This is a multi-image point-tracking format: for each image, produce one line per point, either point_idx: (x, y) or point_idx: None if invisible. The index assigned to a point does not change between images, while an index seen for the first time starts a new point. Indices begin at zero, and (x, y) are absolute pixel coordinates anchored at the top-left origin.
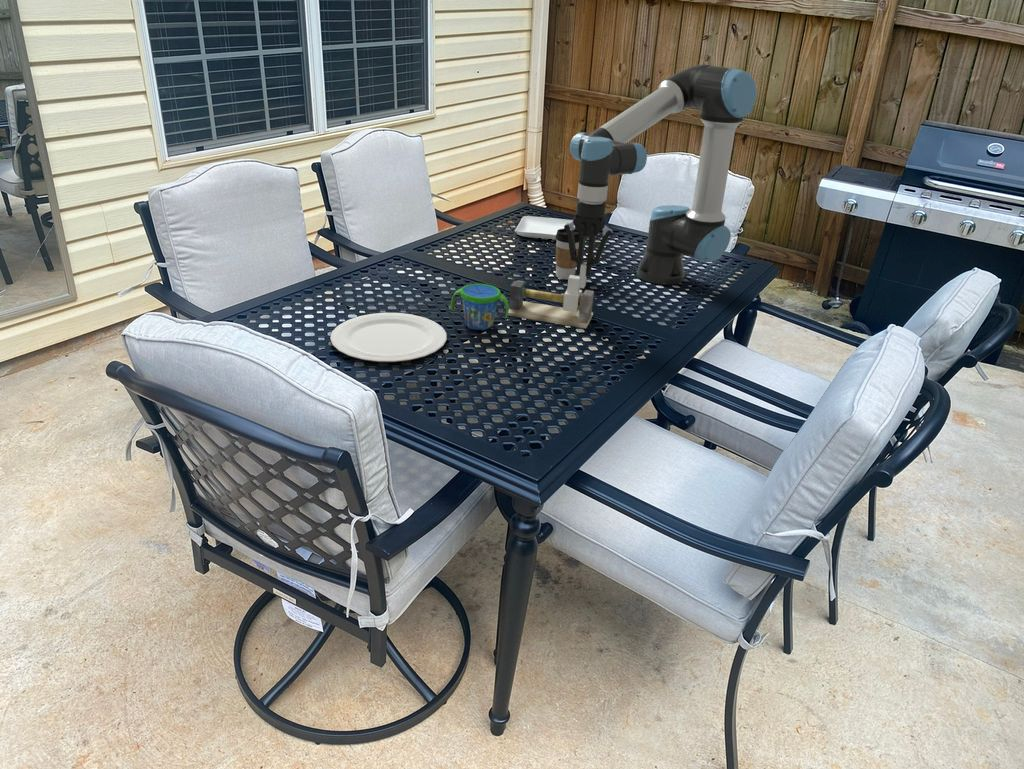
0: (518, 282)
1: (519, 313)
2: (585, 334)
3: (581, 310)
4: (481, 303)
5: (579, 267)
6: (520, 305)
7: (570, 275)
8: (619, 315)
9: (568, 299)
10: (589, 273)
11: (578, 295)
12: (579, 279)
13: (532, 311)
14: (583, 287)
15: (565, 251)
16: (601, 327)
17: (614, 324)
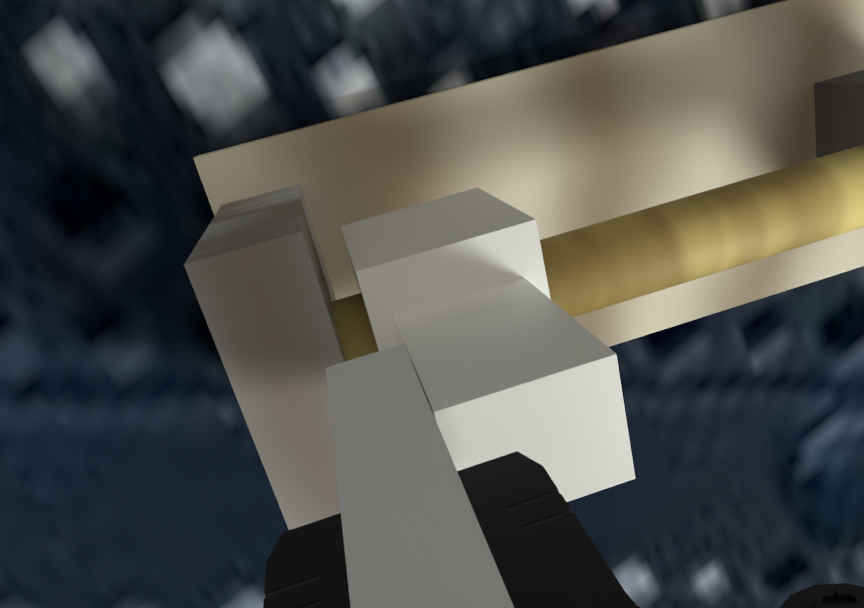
0: None
1: (788, 24)
2: (127, 26)
3: (275, 208)
4: None
5: (531, 570)
6: (832, 138)
7: (623, 456)
8: (133, 565)
9: (461, 224)
10: (278, 579)
11: (368, 294)
12: (423, 401)
13: (712, 137)
14: (330, 371)
15: None
16: (105, 269)
17: (56, 396)
